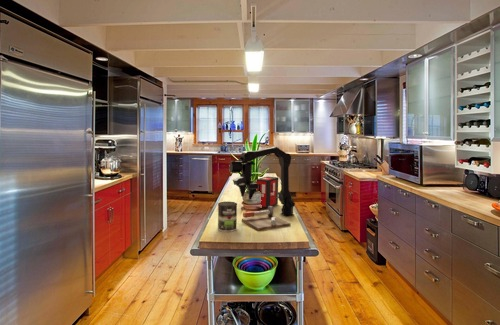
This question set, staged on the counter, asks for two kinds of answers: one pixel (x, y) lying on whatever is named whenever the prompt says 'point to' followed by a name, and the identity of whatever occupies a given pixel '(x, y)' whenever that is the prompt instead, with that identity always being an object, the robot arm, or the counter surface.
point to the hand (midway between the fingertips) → (246, 198)
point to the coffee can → (227, 216)
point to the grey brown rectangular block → (273, 221)
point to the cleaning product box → (268, 191)
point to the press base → (265, 222)
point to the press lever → (259, 212)
